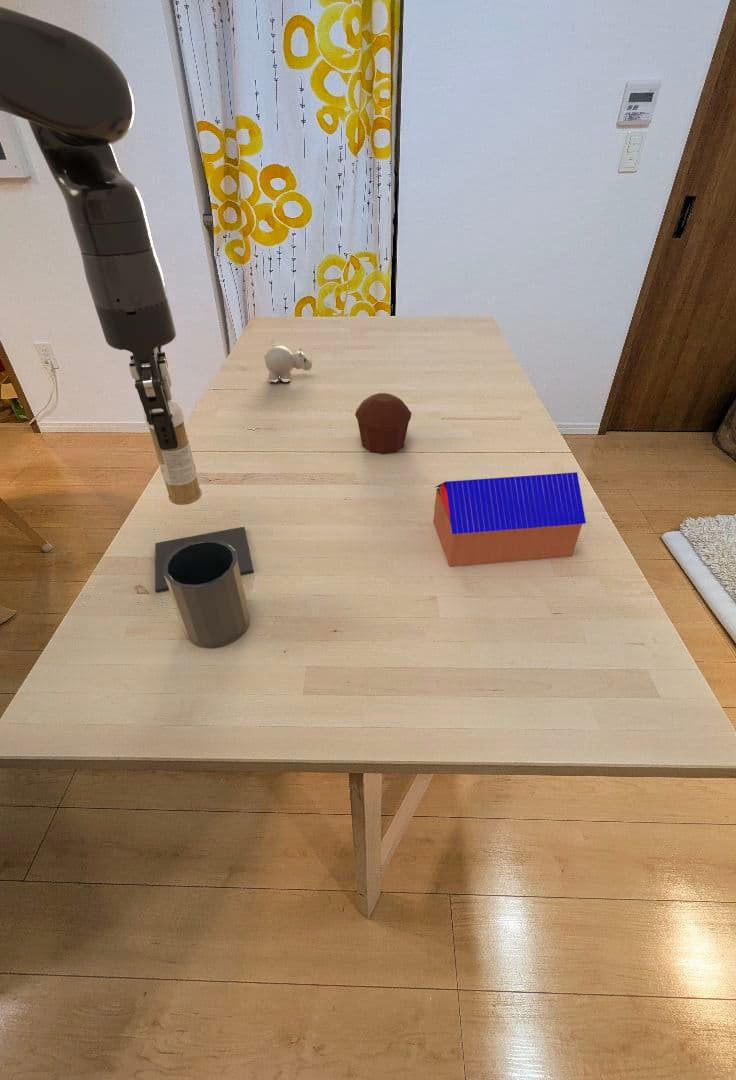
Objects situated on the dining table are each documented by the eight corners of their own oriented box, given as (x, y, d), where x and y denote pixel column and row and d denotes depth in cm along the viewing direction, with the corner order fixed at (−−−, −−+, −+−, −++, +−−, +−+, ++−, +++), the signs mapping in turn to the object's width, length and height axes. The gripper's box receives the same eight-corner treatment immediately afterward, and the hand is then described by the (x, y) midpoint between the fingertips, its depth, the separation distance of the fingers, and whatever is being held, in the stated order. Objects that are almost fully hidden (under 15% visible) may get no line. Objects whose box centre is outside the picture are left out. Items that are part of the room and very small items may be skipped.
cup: (185, 655, 66) (163, 594, 59) (183, 607, 72) (163, 547, 65) (253, 639, 68) (240, 578, 61) (245, 594, 74) (232, 534, 67)
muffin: (417, 453, 105) (420, 406, 98) (365, 461, 102) (364, 414, 96) (398, 426, 113) (400, 382, 107) (349, 433, 111) (348, 389, 105)
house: (574, 557, 80) (595, 495, 72) (447, 568, 78) (455, 505, 71) (545, 511, 89) (560, 452, 82) (430, 520, 87) (436, 460, 80)
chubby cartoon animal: (314, 383, 132) (312, 350, 126) (266, 386, 131) (262, 352, 125) (313, 373, 137) (311, 340, 132) (267, 375, 136) (263, 342, 131)
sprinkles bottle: (170, 490, 74) (143, 401, 65) (202, 486, 75) (181, 398, 66) (168, 508, 70) (140, 417, 62) (203, 504, 71) (180, 413, 63)
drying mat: (155, 592, 74) (154, 589, 74) (156, 545, 82) (155, 542, 82) (253, 572, 78) (253, 569, 77) (244, 529, 86) (244, 526, 85)
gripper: (99, 283, 60) (140, 418, 71) (86, 318, 50) (136, 471, 60) (166, 278, 62) (196, 411, 73) (167, 311, 51) (202, 461, 62)
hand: (169, 437), depth 67 cm, fingers closed on sprinkles bottle, 4 cm apart
